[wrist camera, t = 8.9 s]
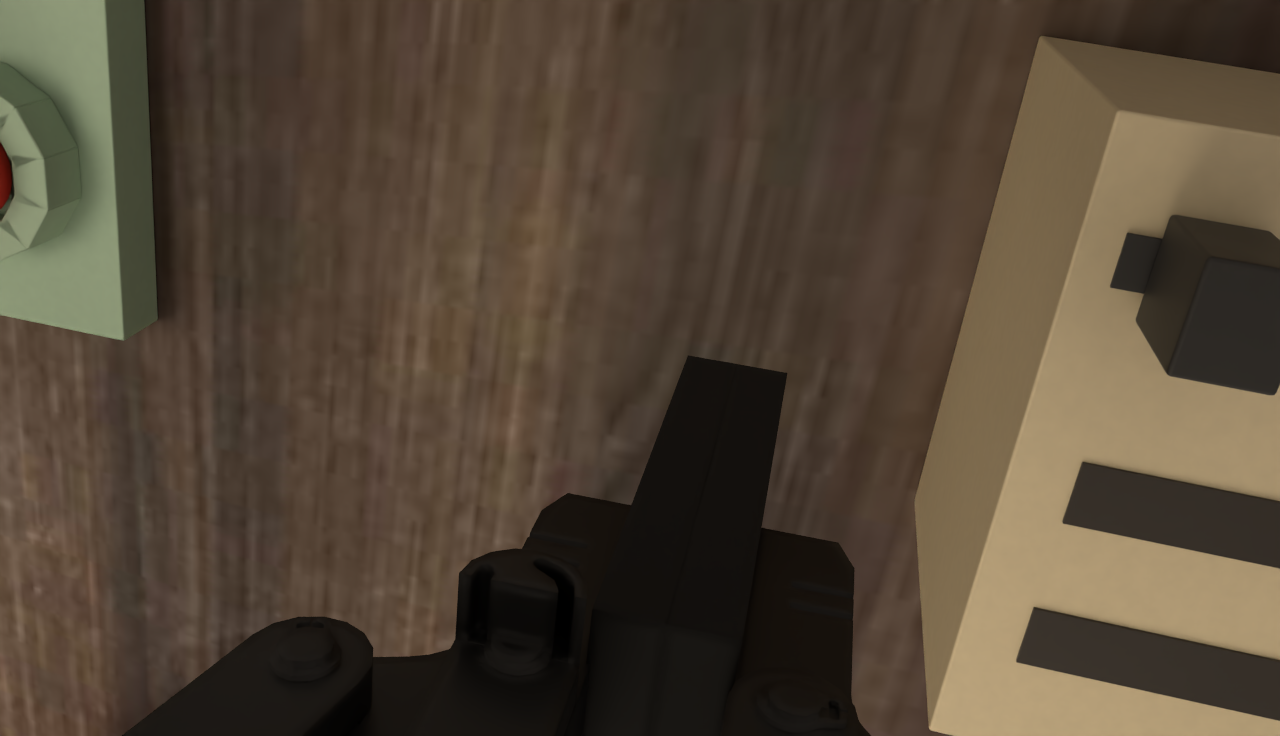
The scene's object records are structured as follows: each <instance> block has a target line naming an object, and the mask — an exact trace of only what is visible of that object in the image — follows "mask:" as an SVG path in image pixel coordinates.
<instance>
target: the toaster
mask: <svg viewBox="0 0 1280 736" xmlns="http://www.w3.org/2000/svg"><path fill="white" fill-rule="evenodd" d="M1172 215H1181V216H1187V217H1192V218H1198V219H1204V220H1209V221H1215V222H1221V223H1226V224H1232V225H1238V226H1244V227H1249V228H1255V229H1261V230H1266V231H1270V232H1271V233H1273V234H1274V235H1275V236H1276V237H1277V238H1278V239H1279V240H1280V74H1278V73H1272V72H1265V71H1259V70H1253V69H1247V68H1240V67H1234V66H1228V65H1222V64H1215V63H1209V62H1203V61H1197V60H1191V59H1184V58H1178V57H1172V56H1166V55H1159V54H1153V53H1147V52H1141V51H1134V50H1128V49H1122V48H1116V47H1109V46H1103V45H1097V44H1091V43H1084V42H1078V41H1072V40H1066V39H1059V38H1053V37H1047V36H1040V38H1039V40H1038V44H1037V48H1036V51H1035V55H1034V59H1033V62H1032V66H1031V70H1030V74H1029V77H1028V81H1027V85H1026V88H1025V92H1024V96H1023V100H1022V103H1021V107H1020V111H1019V114H1018V118H1017V122H1016V126H1015V129H1014V133H1013V137H1012V140H1011V144H1010V148H1009V152H1008V155H1007V159H1006V163H1005V166H1004V170H1003V174H1002V178H1001V181H1000V185H999V189H998V192H997V196H996V200H995V204H994V207H993V211H992V215H991V218H990V222H989V226H988V229H987V233H986V237H985V241H984V244H983V248H982V252H981V255H980V259H979V263H978V267H977V270H976V274H975V278H974V281H973V285H972V289H971V293H970V296H969V300H968V304H967V307H966V311H965V315H964V319H963V322H962V326H961V330H960V333H959V337H958V341H957V345H956V348H955V352H954V356H953V359H952V363H951V367H950V370H949V374H948V378H947V382H946V385H945V389H944V393H943V396H942V400H941V404H940V408H939V411H938V415H937V419H936V422H935V426H934V430H933V434H932V437H931V441H930V445H929V448H928V452H927V456H926V460H925V463H924V467H923V471H922V474H921V478H920V482H919V486H918V489H917V493H916V497H915V500H914V503H915V518H916V534H917V549H918V565H919V580H920V596H921V611H922V627H923V642H924V658H925V674H926V689H927V705H928V720H929V729H930V730H932V731H936V732H940V733H944V734H949V735H953V736H1280V385H1279V388H1278V390H1277V393H1276V394H1275V395H1265V394H1260V393H1255V392H1249V391H1244V390H1239V389H1234V388H1229V387H1223V386H1218V385H1213V384H1208V383H1202V382H1197V381H1192V380H1187V379H1181V378H1176V377H1171V376H1169V375H1167V374H1166V372H1165V371H1164V369H1163V367H1162V365H1161V364H1160V362H1159V360H1158V359H1157V357H1156V355H1155V354H1154V352H1153V350H1152V349H1151V347H1150V345H1149V343H1148V342H1147V340H1146V338H1145V337H1144V335H1143V333H1142V332H1141V330H1140V328H1139V326H1138V325H1137V323H1136V316H1137V313H1138V310H1139V307H1140V304H1141V301H1142V298H1143V295H1144V292H1145V289H1146V286H1147V284H1148V281H1149V278H1150V275H1151V272H1152V269H1153V266H1154V263H1155V260H1156V257H1157V254H1158V251H1159V248H1160V245H1161V242H1162V239H1163V236H1164V233H1165V230H1166V227H1167V224H1168V221H1169V218H1170V217H1171V216H1172Z"/></svg>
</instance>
